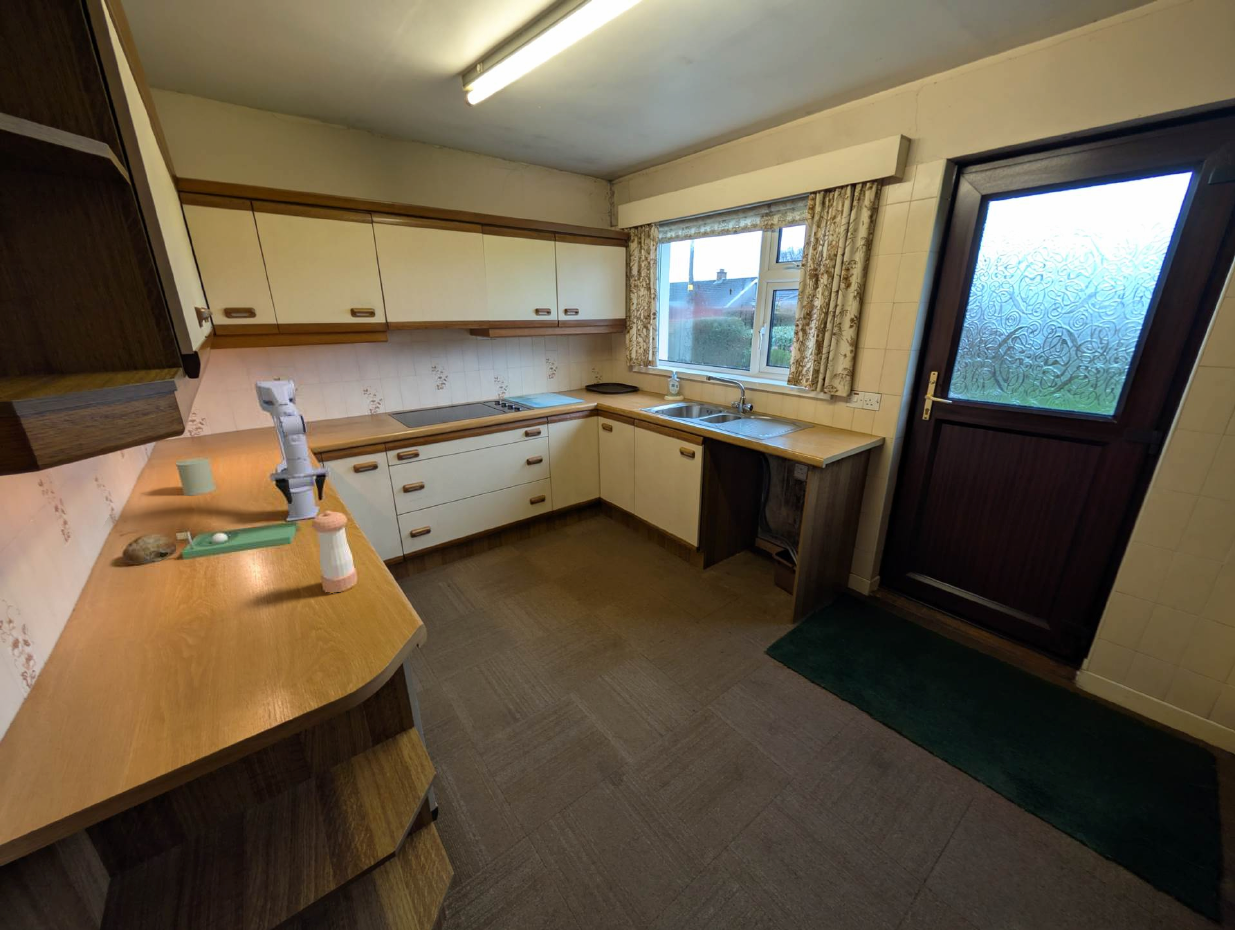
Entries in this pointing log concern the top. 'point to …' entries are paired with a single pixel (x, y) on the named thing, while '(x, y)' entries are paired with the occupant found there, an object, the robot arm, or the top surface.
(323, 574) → the pepper shaker
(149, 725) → the top surface
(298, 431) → the robot arm
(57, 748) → the top surface
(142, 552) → the brown rounded lump
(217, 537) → the ball
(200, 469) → the can
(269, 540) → the green
